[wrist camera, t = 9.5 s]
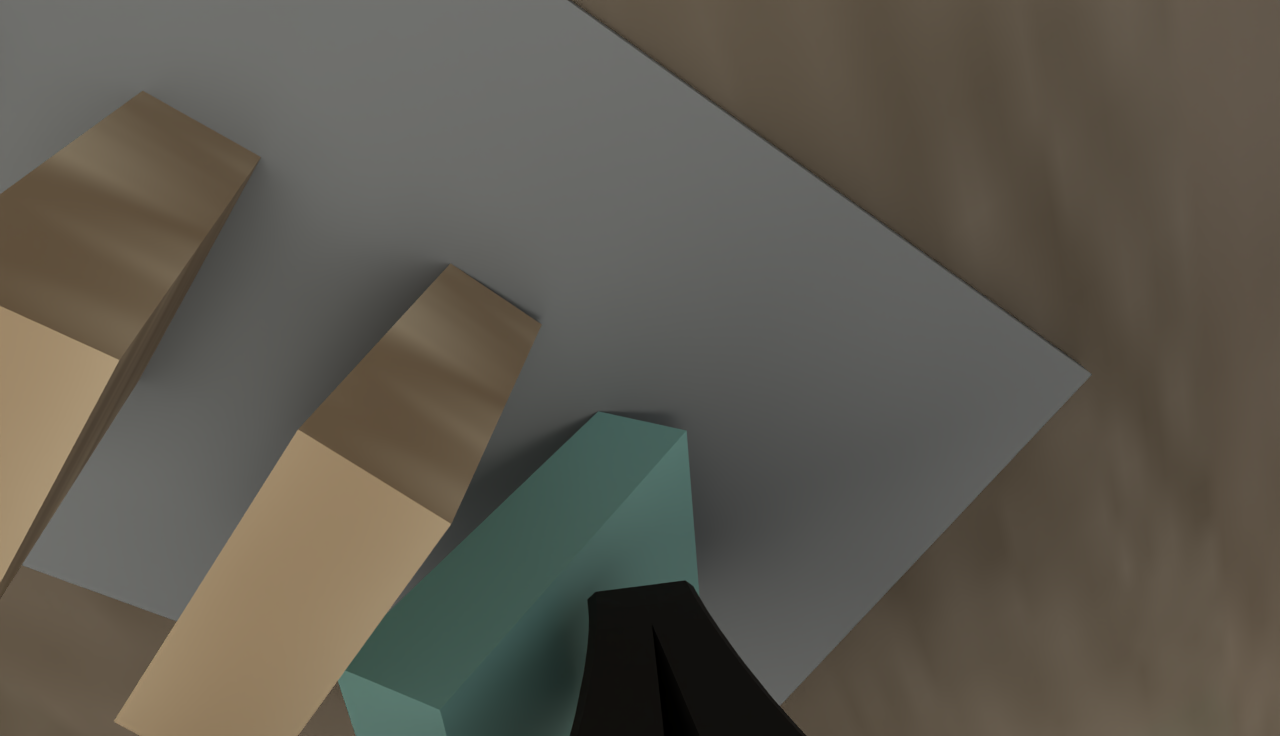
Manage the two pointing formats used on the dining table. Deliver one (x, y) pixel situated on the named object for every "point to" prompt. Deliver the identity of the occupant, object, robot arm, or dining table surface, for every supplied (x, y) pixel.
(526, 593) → the tile
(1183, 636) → the dining table surface
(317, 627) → the tile
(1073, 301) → the dining table surface
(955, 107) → the dining table surface
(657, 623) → the robot arm
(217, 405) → the board and tray
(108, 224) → the tan wooden block
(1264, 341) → the dining table surface
